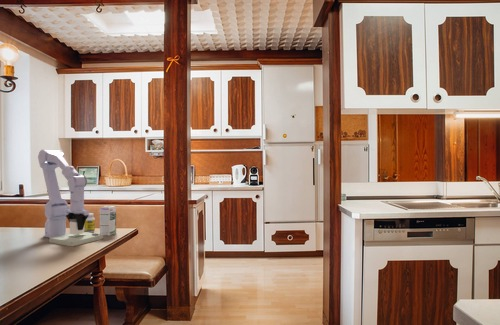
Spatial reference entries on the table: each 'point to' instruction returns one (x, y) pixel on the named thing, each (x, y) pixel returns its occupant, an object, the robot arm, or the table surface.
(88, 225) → the supplement bottle
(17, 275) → the table surface
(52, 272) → the table surface
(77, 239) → the socket block
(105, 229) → the syrup box
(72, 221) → the plug
